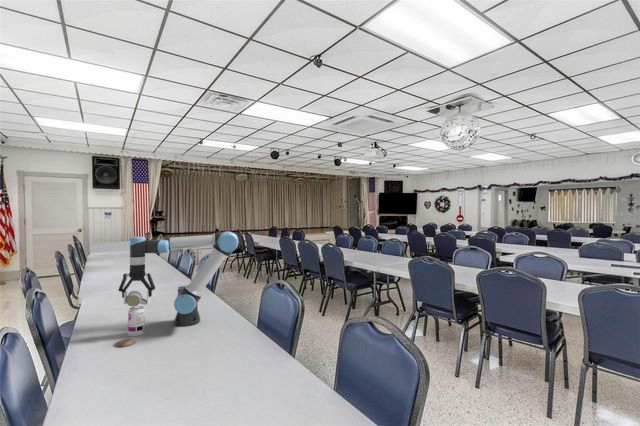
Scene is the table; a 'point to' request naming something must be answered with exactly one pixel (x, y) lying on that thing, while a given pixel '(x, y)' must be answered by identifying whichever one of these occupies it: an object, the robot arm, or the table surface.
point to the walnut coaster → (125, 343)
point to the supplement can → (136, 321)
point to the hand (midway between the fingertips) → (137, 303)
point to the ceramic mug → (135, 298)
